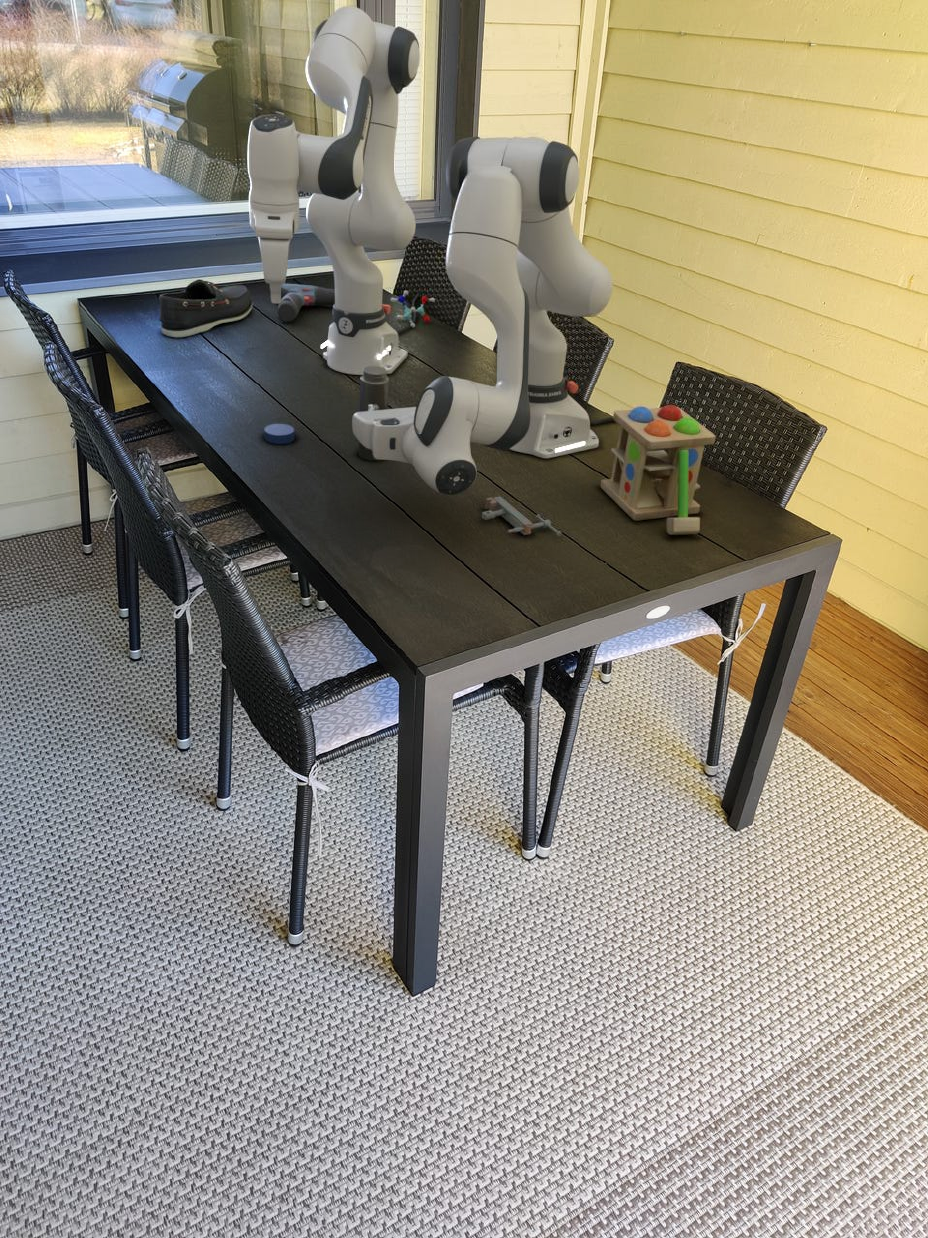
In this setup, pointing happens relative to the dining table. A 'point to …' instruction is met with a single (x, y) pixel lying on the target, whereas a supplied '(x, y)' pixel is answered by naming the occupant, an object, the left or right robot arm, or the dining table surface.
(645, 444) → the pounding bench toy
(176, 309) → the boat shoe
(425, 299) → the molecular model
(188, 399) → the dining table surface
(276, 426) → the lid
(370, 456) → the dark grey bottle
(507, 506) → the clamp
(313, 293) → the power drill
